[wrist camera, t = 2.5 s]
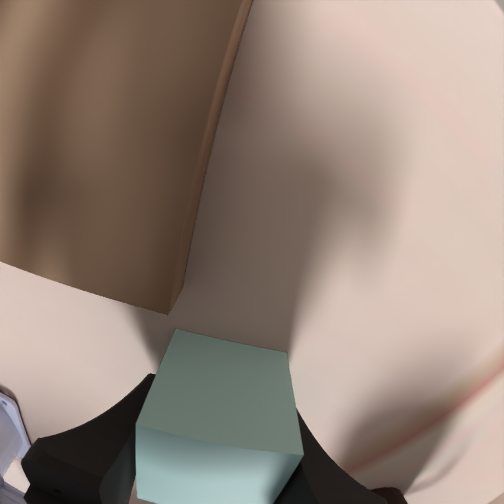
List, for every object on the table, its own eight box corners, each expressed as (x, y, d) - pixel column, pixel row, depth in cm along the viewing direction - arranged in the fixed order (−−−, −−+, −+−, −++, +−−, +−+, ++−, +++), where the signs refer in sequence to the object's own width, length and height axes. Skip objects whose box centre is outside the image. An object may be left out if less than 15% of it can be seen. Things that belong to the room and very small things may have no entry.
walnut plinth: (-31, 225, 12) (-61, 235, 10) (19, -3, 9) (-6, -18, 6) (182, 288, 13) (168, 314, 11) (256, -11, 10) (257, -43, 7)
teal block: (165, 407, 15) (136, 497, 9) (175, 328, 14) (135, 424, 8) (258, 426, 15) (261, 520, 9) (286, 352, 14) (303, 454, 8)
